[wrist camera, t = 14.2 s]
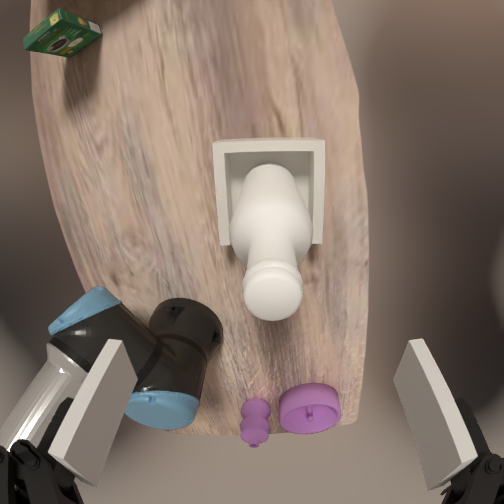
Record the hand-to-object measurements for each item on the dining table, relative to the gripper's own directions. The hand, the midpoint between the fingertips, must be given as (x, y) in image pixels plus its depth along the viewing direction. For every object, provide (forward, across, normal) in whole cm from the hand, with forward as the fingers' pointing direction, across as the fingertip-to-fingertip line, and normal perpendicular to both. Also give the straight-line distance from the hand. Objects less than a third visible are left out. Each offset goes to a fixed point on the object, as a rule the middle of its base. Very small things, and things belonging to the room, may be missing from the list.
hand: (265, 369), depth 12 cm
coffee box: (+37, -31, +30) cm, 56 cm away
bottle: (+36, 0, 0) cm, 36 cm away
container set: (+37, +6, -54) cm, 66 cm away
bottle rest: (+37, 0, 0) cm, 37 cm away
